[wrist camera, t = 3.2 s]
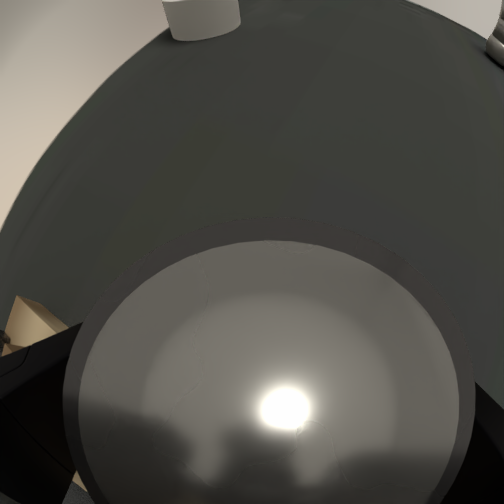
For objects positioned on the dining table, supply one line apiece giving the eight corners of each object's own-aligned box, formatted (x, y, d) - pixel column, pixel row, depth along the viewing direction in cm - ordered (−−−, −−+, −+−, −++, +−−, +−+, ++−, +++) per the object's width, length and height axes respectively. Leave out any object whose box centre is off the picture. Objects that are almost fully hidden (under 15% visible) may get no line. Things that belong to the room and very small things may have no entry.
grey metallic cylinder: (342, 344, 13) (508, 297, 3) (301, 438, 12) (355, 600, 1) (245, 307, 15) (160, 170, 4) (204, 400, 13) (38, 477, 2)
